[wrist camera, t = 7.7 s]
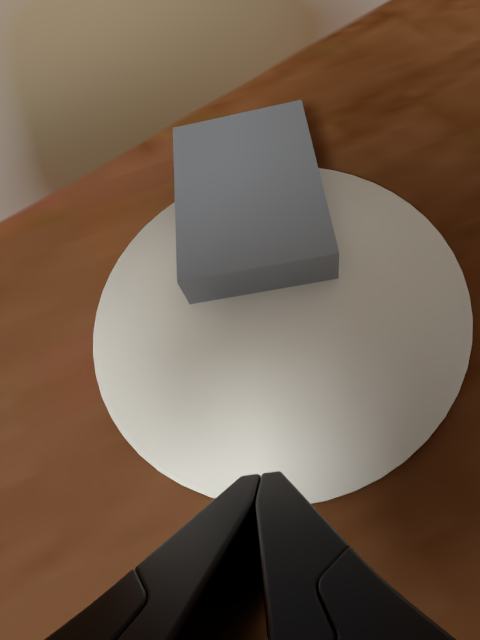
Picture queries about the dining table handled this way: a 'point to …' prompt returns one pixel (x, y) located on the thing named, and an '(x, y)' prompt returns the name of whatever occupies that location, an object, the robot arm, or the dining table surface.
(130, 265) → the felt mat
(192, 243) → the slate tile
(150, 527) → the dining table surface
